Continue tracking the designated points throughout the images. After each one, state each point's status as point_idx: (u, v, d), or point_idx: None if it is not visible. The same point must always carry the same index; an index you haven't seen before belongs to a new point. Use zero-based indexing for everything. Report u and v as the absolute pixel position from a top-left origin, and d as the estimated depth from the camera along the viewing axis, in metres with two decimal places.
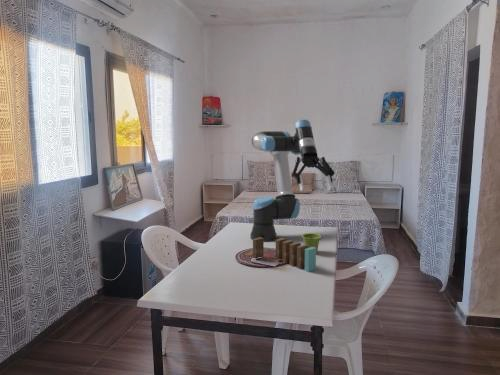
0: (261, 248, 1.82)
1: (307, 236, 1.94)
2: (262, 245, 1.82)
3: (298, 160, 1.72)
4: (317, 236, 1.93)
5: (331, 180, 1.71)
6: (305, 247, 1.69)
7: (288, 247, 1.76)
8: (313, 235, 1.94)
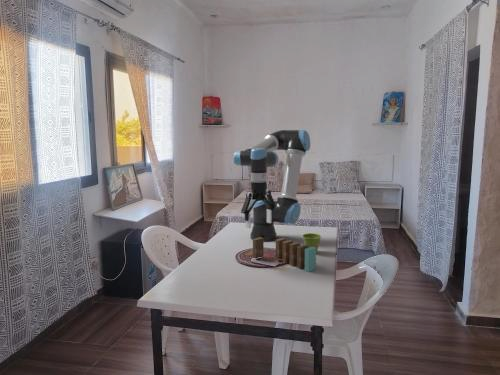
0: (261, 248, 1.82)
1: (307, 236, 1.94)
2: (262, 245, 1.82)
3: (250, 197, 1.73)
4: (317, 236, 1.93)
5: (271, 214, 1.84)
6: (305, 247, 1.69)
7: (288, 247, 1.76)
8: (313, 235, 1.94)
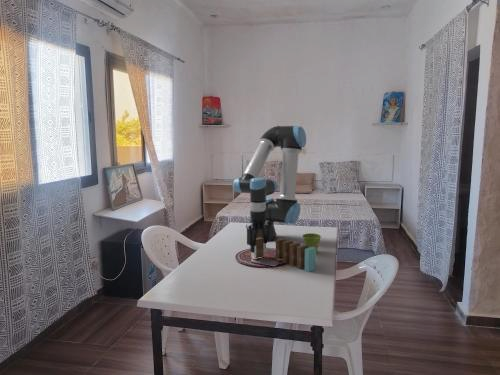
0: (261, 248, 1.82)
1: (307, 236, 1.94)
2: (262, 245, 1.82)
3: (250, 229, 1.76)
4: (317, 236, 1.93)
5: (265, 247, 1.84)
6: (305, 247, 1.69)
7: (288, 247, 1.76)
8: (313, 235, 1.94)
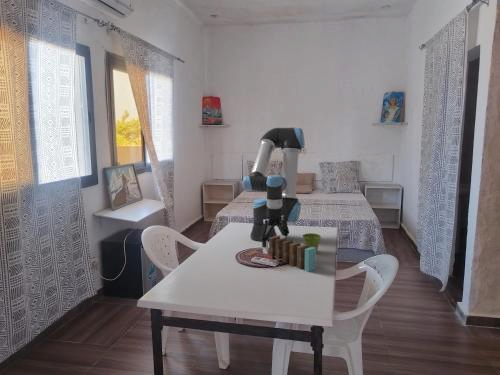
0: None
1: (307, 236, 1.94)
2: None
3: (266, 224, 1.77)
4: (317, 236, 1.93)
5: None
6: (305, 247, 1.69)
7: (288, 247, 1.76)
8: (313, 235, 1.94)
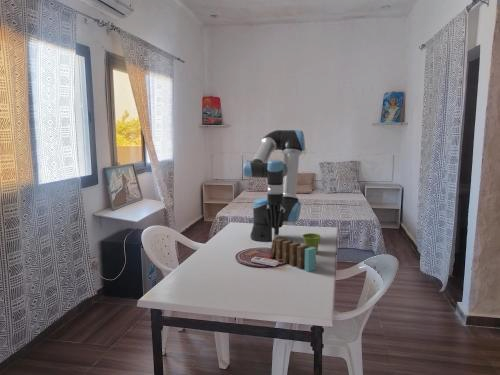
0: None
1: (307, 236, 1.94)
2: None
3: (266, 209, 1.84)
4: (317, 236, 1.93)
5: (276, 233, 1.81)
6: (305, 247, 1.69)
7: (288, 247, 1.76)
8: (313, 235, 1.94)
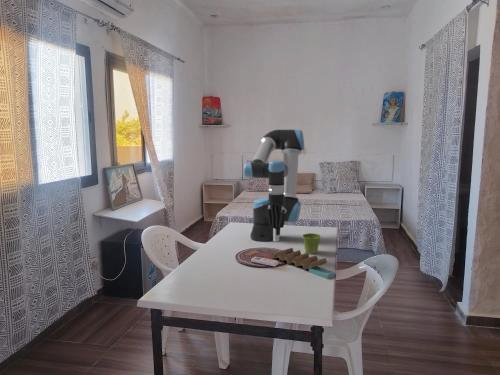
0: None
1: (307, 236, 1.94)
2: None
3: (267, 209, 1.83)
4: (317, 236, 1.93)
5: (277, 233, 1.81)
6: (323, 263, 1.63)
7: None
8: (313, 235, 1.94)
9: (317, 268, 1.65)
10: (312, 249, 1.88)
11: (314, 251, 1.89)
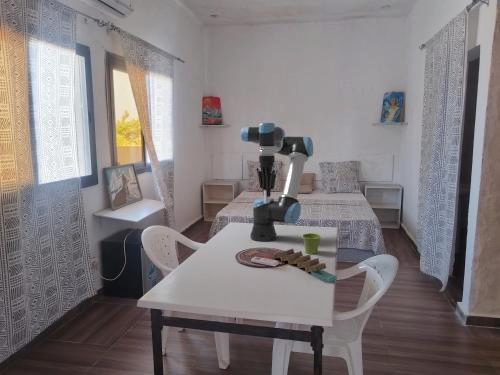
0: None
1: (307, 236, 1.94)
2: None
3: (258, 172, 1.86)
4: (317, 236, 1.93)
5: (267, 195, 1.83)
6: None
7: None
8: (313, 235, 1.94)
9: (319, 271, 1.61)
10: (312, 249, 1.88)
11: (314, 251, 1.89)
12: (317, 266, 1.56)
